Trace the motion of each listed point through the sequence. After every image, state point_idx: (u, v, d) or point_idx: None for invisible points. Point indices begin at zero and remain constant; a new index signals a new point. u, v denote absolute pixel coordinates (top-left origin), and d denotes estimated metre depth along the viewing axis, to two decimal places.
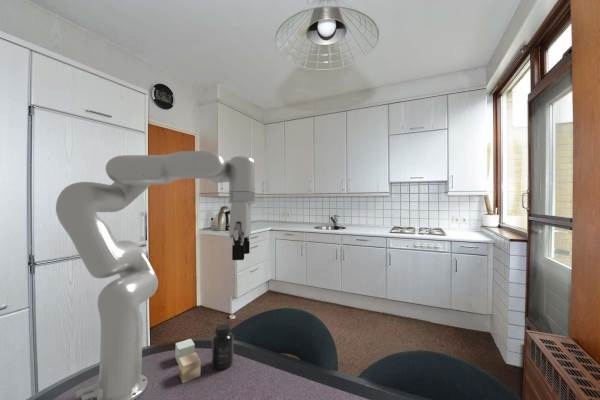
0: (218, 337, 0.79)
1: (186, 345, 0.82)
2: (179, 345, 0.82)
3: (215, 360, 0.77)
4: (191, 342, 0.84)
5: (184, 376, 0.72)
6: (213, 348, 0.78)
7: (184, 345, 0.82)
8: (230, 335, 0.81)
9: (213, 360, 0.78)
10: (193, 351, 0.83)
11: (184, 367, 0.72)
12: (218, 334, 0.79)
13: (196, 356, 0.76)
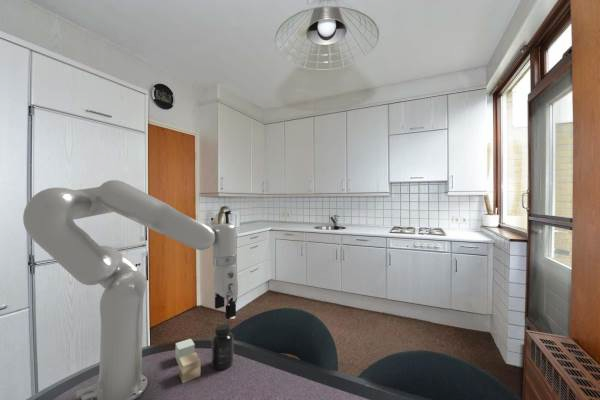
0: (218, 337, 0.79)
1: (186, 345, 0.82)
2: (180, 345, 0.82)
3: (215, 360, 0.77)
4: (191, 342, 0.84)
5: (184, 376, 0.72)
6: (213, 348, 0.78)
7: (184, 345, 0.82)
8: (230, 335, 0.81)
9: (213, 360, 0.78)
10: (193, 351, 0.83)
11: (184, 367, 0.72)
12: (218, 334, 0.79)
13: (196, 356, 0.76)
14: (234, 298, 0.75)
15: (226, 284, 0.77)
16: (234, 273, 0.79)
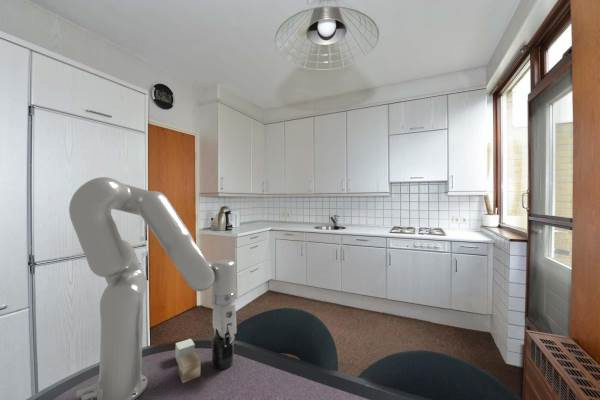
0: (218, 337, 0.79)
1: (186, 345, 0.82)
2: (180, 345, 0.82)
3: (215, 360, 0.77)
4: (191, 342, 0.84)
5: (184, 376, 0.72)
6: (213, 348, 0.78)
7: (184, 345, 0.82)
8: None
9: (213, 360, 0.78)
10: (193, 351, 0.83)
11: (184, 367, 0.72)
12: (218, 334, 0.79)
13: (196, 356, 0.76)
14: (231, 341, 0.75)
15: (225, 324, 0.76)
16: (233, 312, 0.78)
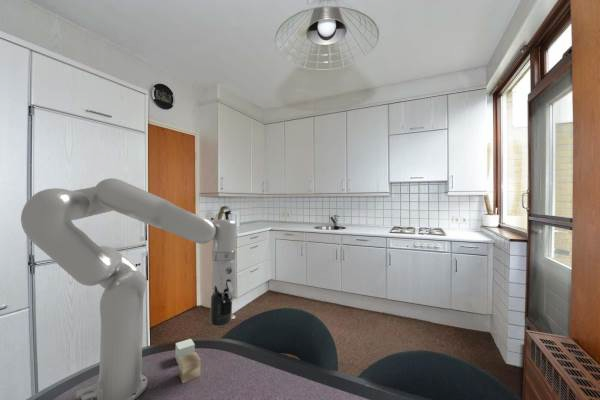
0: (217, 294, 0.79)
1: (186, 345, 0.82)
2: (180, 345, 0.82)
3: (213, 316, 0.78)
4: (191, 342, 0.84)
5: (184, 376, 0.72)
6: (212, 304, 0.78)
7: (184, 345, 0.82)
8: None
9: (211, 316, 0.78)
10: (193, 351, 0.83)
11: (184, 367, 0.72)
12: (217, 291, 0.79)
13: (196, 356, 0.76)
14: (230, 296, 0.76)
15: (224, 279, 0.77)
16: (232, 269, 0.79)
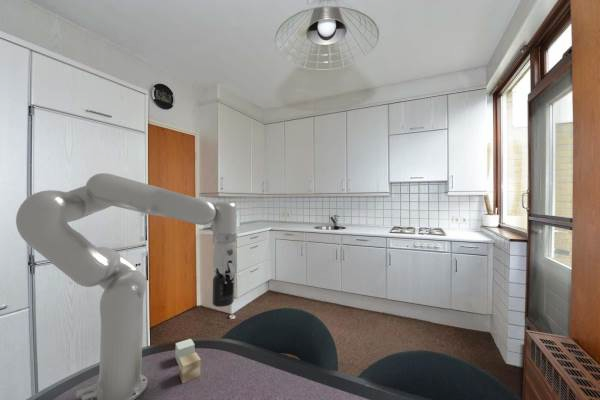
0: (219, 275, 0.79)
1: (186, 345, 0.82)
2: (179, 345, 0.82)
3: (216, 297, 0.78)
4: (191, 342, 0.84)
5: (184, 376, 0.72)
6: (214, 286, 0.79)
7: (184, 345, 0.82)
8: None
9: (214, 297, 0.79)
10: (193, 351, 0.83)
11: (184, 367, 0.72)
12: None
13: (196, 356, 0.76)
14: (231, 277, 0.76)
15: (225, 261, 0.77)
16: (233, 250, 0.79)
